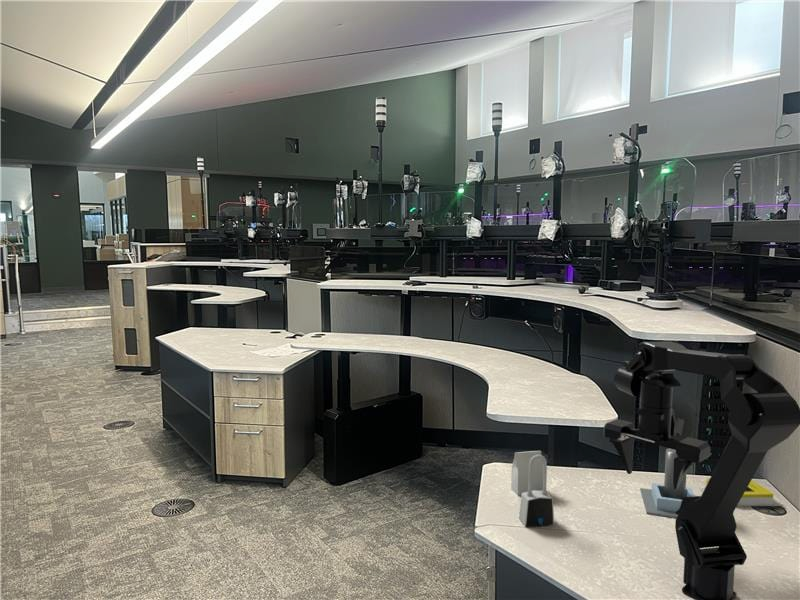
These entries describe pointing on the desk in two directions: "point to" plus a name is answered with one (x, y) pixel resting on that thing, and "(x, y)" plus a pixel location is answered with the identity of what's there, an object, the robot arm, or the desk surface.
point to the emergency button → (755, 496)
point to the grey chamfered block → (526, 472)
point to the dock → (661, 501)
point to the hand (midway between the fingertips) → (652, 481)
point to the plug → (668, 482)
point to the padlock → (536, 502)
